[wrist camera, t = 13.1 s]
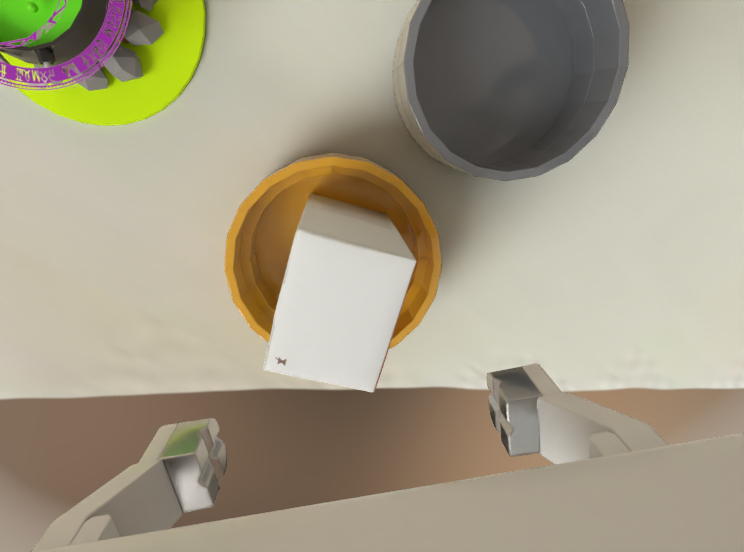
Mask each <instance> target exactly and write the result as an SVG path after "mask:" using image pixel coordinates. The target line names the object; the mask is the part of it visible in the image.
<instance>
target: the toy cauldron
mask: <svg viewBox="0 0 744 552" xmlns="http://www.w3.org/2000/svg"><path fill="white" fill-rule="evenodd" d="M205 17H206V11H205V5H204V0H0V77H2V76H1V75H2V74H3V76H4V77H3V78H6V79H8V80H9V81H10V82H9V81H6V80H2V79H0V81H3V82H7V84H8V83H11V85H12V84H13V85H14V86H11V85H7V84H4V83H1V82H0V83H1V84H4V85H7V86H11V87H14V88H17V89H18V90H20V91H21V92H22V93H24V94H25V95H26V96H27V97H29V98H30V99H31V100H33V101H34V102H35V103H37V104H39V105H41V106H43V107H44V108H46V109H48V110H50V111H52V112H54V113H56V114H58V115H60V116H63V117H67V118H70V119H73V120H76V121H79V122H82V123H88V124H95V125H103V126H109V125H126V124H129V123H133V122H137V121H140V120H144V119H147V118H149V117H150V116H152V115H154V114H156V113H158V112H160V111H162V110H163V109H165V108H166V107H167V106H168V105H169V104H170V103H172V102H173V101H174V100H175V99H176V98H177V97H178V96H179V95H180V94H181V93H182V91H183V90H184V89H185V87H186V86H187V84H188V83H189V82H190V80H191V79H192V77H193V74H194V72H195V70H196V67H197V65H198V63H199V61H200V58H201V53H202V48H203V44H204V39H205Z"/></svg>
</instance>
